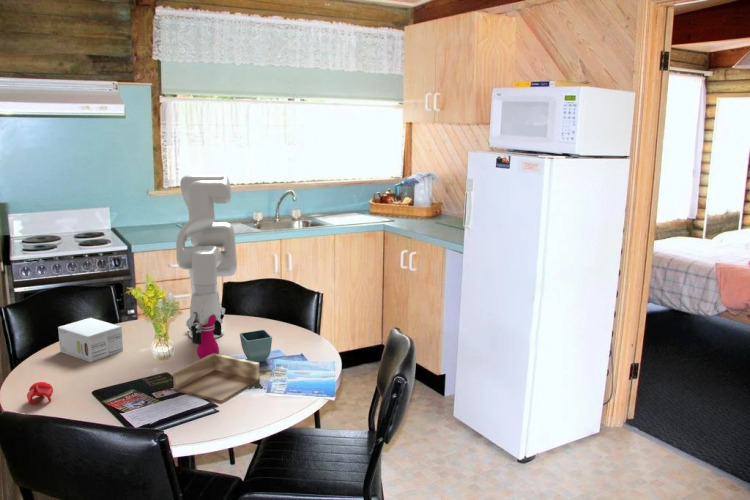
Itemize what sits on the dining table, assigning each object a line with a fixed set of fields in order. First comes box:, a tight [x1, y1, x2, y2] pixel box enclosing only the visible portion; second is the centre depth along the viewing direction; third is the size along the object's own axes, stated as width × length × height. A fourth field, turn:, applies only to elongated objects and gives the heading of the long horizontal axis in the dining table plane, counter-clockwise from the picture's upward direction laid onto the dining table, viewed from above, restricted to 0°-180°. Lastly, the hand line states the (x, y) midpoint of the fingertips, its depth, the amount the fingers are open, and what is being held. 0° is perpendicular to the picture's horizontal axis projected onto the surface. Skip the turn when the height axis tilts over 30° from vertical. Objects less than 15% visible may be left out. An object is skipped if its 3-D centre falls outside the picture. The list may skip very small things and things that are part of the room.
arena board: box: [173, 370, 261, 404], centre depth 191 cm, size 18×18×1 cm
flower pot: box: [239, 329, 273, 363], centre depth 210 cm, size 9×9×9 cm
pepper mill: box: [196, 314, 220, 360], centre depth 206 cm, size 7×7×20 cm
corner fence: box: [172, 353, 261, 389], centre depth 190 cm, size 18×18×5 cm
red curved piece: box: [26, 381, 54, 405], centre depth 178 cm, size 8×6×6 cm
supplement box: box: [57, 317, 124, 363], centre depth 216 cm, size 17×13×9 cm
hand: (207, 339), depth 206 cm, fingers open, 9 cm apart
